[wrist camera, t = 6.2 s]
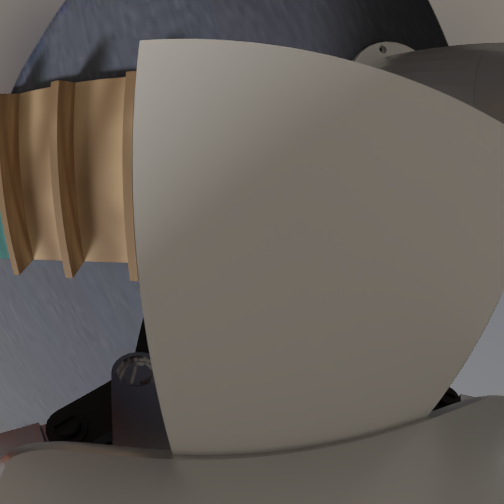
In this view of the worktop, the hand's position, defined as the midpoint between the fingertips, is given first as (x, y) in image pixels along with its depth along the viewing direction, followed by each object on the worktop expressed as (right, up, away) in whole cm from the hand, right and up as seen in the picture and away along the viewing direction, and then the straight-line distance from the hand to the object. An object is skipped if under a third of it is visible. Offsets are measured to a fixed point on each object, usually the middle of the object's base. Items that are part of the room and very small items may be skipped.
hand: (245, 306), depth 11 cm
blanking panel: (0, +1, +2) cm, 2 cm away
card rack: (-20, +10, +14) cm, 26 cm away
